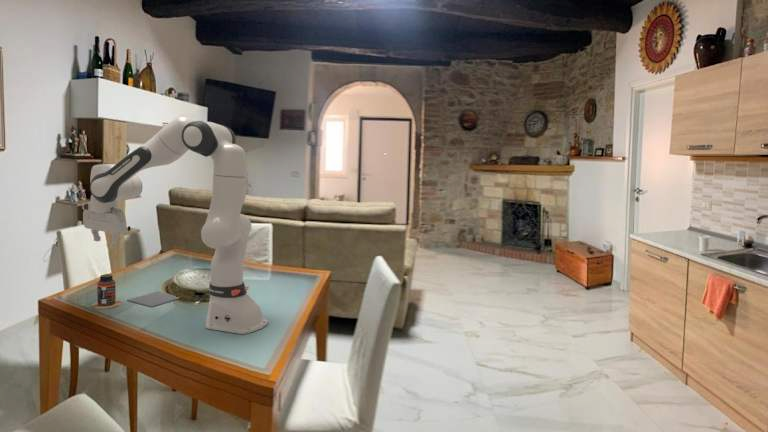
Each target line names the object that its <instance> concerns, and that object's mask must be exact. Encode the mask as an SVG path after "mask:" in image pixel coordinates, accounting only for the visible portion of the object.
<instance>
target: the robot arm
mask: <svg viewBox="0 0 768 432" xmlns="http://www.w3.org/2000/svg"><path fill="white" fill-rule="evenodd" d="M236 142H237V139H236V135H235V132H234V131H233V130H232V129H231V128H230V127H228V126H226V125H223V124H219V123H215V122H212V121H203V120H194V119H192V118H191V117H188V116H186V115H185V116H184V115H182V116H178V117H176V118H174V119H173V120H171V121H170V122H169V123H167V124H166V125H164V126H163V127H162V128H161V129H160V130H158V132H157V133H156V134H154V135H153V136H152V137H151V138H150V139H149V140H147V141H146V142H145V143H143V144H142V145H140V146H139V147H137V148H136V149H134V150H133V151H132V152H130V153H129V154H127V155H126V156H124V157H123V158H122V159H121V160H120V161H118V162H117V163H111V162H109V163H108V162H105V163H97V164H94V165H93V166H92V167H91V170H90V177H89V178H90V181H89V182H90V185H89V191H90V194H91V195H90V201H88V202H85V203H82V207H81V208H82V210H83V212H82V222H83V223H82V224H83V226H84V228H85V229H89V230H91V234H92V236H93V241H94V242H101V240H102V237H101V236H100V234H99V232H105V233H110V234H111V236H112V237H111V239H110V240H109V244H110V245H113V246H115V245H117V244H118V239H119V237H120V235H122V234H126V232H127V229H128V226H127V225H128V224H127V219H126V215H125V213H124V212H123V210H122V209H121V208H119V201H125V200H134V199H136V198H138V197H140V195H142V192H143V182H142V181H141V179H140V177H139V176H137V174H138V173H140V172H141V171H144V170H147V169H150V168H155V167H160V166H162V167H163V166H167V165H171V164H173V163H175V162H176V161H177V160H179V159H180V158H182V156H184V155H185V154H186V153H187V152H188V151H189V150H190V151H191V152H194V153H196V154H198V155H201V156H203V157H206V158H208V157H210V158H211V159H212V161H213V172H212V174H213V175H212V177H213V178H212V195H211V201H210V205H209V209H208V213H207V215H206V219H205V222H204V224H203V226H202V228H201V229H200V237H201V241H202V242H203V243H204V244H205V245H206V246H207V247H208V248H210V249H215V250H214V255H213V256H212V259H211V261H210V282H209V285H208V292H209V293H208V294H209V302H208V309H207V315H206V318H205V329H208V330H214V331H222V332H225V333H226V332H227V333H233V334H239V335H245V334H246V335H247V334H250V333H254V332H256V331H258V330H260V329H263V328H265V327H266V326H267V325H268V324H269V320H268V319H267V318H264V317H263V316H262V309H261V306H260V305H258V303H257V302H256V301H255V300H254V299H253V298H252V297H251V296H250V295H249V294H248V290H249V288H250V285H249V286H248V285H247V286H246V284H245V282H244V261H245V254H246V250H247V246H248V240H249V236H250V233H251V230H252V223H251V220H250V218H248V217H249V216H247V215H245V214H243V213H242V208H243V205H244V203H245V201H246V195H247V172H248V171H247V168H248V167H247V157H246V152H245V150H244V148H243V147H242V146H240V145H238V144H236Z"/></svg>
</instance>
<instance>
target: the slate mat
mask: <svg viewBox="0 0 768 432" xmlns="http://www.w3.org/2000/svg"><path fill="white" fill-rule="evenodd" d="M176 296H177V295H175V296H174V295H173V294H171V293H166V292H162V291H158V290H157V291H154V292H150V293H147V294H143V295H139V296H136V297H132V298H129V299H127V300H126V301H127V302H129V303H133V304H137V305H141V306H144V307H148V308H154V307H155V308H156V307H159V306H163V305H166V304H168V303H172V302H174V300H175V301H177V299H178V300H180V299H179V297H180V296H179V297H176Z"/></svg>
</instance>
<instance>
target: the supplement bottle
mask: <svg viewBox="0 0 768 432" xmlns="http://www.w3.org/2000/svg"><path fill="white" fill-rule="evenodd" d="M99 277H100V278H99V281H97V283H96V284H97V291H96V293H97V300H96V302H98V305H100V306H109V305H113V304H114V303H115V300H116V296H117V295H116V280H114V279H113V274H109V273H106V274H105V273H104V274H101V275H100V276H99Z"/></svg>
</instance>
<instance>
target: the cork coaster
mask: <svg viewBox="0 0 768 432" xmlns="http://www.w3.org/2000/svg"><path fill="white" fill-rule="evenodd" d="M122 304H123V303H122V301H121V300H117V299H115V303H114V304H113V305H109V306H100V305H98V302H97V301H96V302H94V303H92V304H91V305H90V306H91V307H90V308H92V309H94V310H95V309H97V310H108V309H114V308H117V307H120V306H121V305H122Z"/></svg>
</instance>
